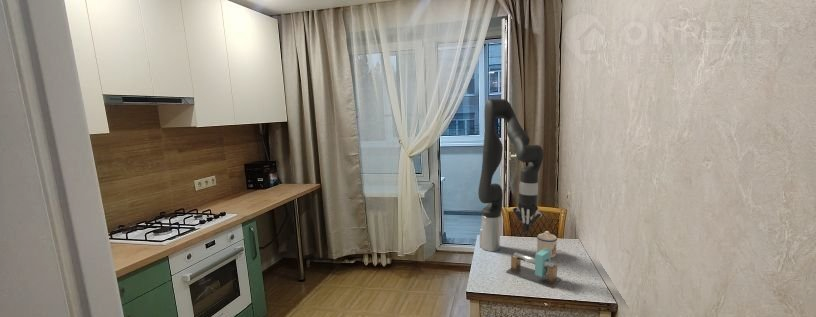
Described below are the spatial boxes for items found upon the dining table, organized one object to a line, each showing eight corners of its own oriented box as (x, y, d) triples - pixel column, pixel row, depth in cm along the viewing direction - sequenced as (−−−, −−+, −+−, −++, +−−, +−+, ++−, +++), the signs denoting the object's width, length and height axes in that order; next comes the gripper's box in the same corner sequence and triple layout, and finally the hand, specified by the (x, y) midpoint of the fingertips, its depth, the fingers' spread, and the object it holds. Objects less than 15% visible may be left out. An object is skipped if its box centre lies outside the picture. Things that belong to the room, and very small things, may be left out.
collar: (534, 274, 148) (535, 253, 147) (543, 268, 154) (544, 248, 152) (541, 276, 146) (542, 255, 145) (550, 270, 152) (550, 250, 150)
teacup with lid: (556, 259, 169) (557, 235, 168) (535, 256, 173) (536, 233, 171) (556, 250, 180) (557, 227, 178) (537, 247, 184) (538, 225, 182)
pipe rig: (506, 272, 157) (506, 254, 156) (516, 265, 163) (516, 248, 162) (551, 288, 143) (552, 267, 142) (561, 280, 149) (561, 260, 148)
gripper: (509, 191, 154) (508, 229, 157) (539, 196, 144) (537, 237, 147) (518, 188, 159) (516, 225, 162) (547, 193, 150) (545, 233, 153)
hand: (526, 231), depth 155 cm, fingers closed
